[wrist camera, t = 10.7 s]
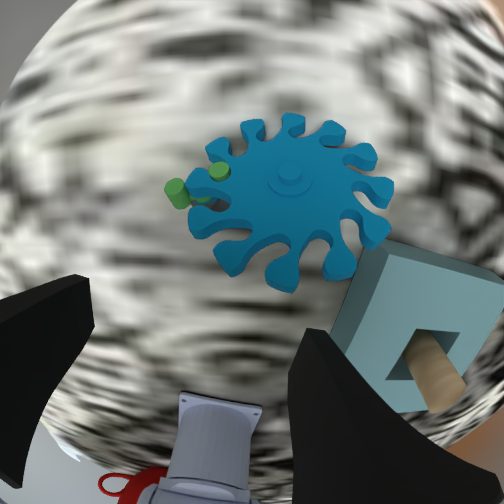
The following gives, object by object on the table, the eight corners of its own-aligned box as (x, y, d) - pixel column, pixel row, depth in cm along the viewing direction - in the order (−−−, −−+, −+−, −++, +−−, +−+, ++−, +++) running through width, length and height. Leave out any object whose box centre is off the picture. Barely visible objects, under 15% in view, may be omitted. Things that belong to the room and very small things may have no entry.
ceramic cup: (118, 439, 29) (98, 490, 20) (218, 479, 32) (211, 529, 23) (105, 456, 34) (89, 496, 24) (186, 490, 36) (178, 530, 27)
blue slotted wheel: (381, 113, 13) (412, 289, 9) (363, 176, 18) (369, 319, 14) (190, 108, 15) (131, 266, 11) (212, 169, 20) (181, 302, 16)
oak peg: (412, 345, 20) (449, 410, 13) (386, 343, 20) (420, 415, 13) (427, 317, 19) (473, 381, 12) (401, 314, 19) (445, 384, 12)
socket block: (424, 385, 23) (435, 408, 19) (306, 383, 22) (310, 413, 19) (490, 270, 17) (512, 288, 14) (368, 234, 17) (389, 254, 14)
